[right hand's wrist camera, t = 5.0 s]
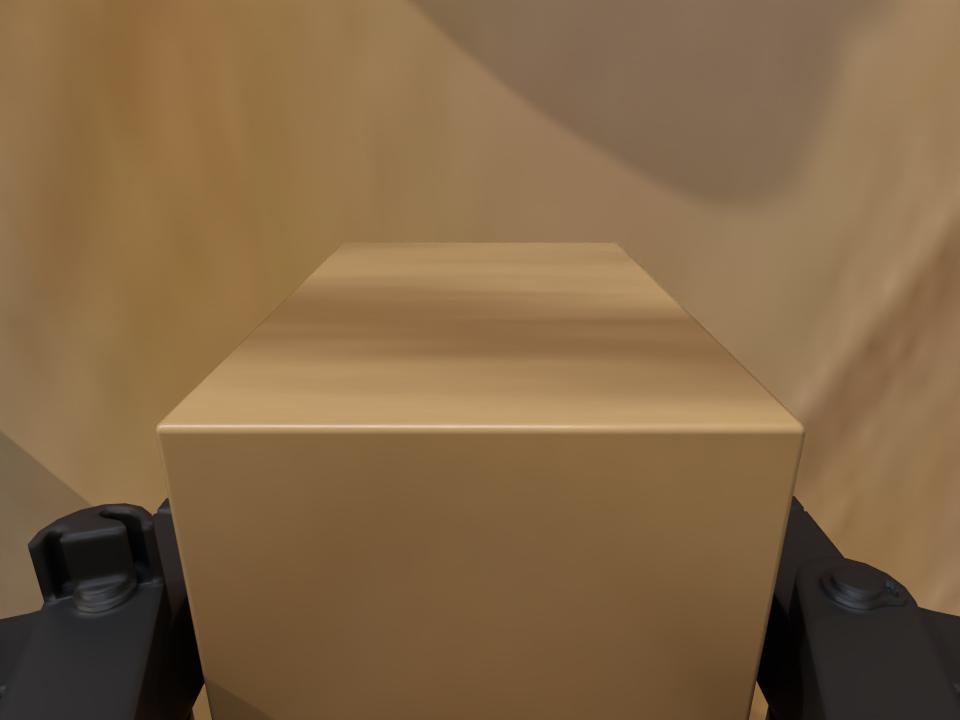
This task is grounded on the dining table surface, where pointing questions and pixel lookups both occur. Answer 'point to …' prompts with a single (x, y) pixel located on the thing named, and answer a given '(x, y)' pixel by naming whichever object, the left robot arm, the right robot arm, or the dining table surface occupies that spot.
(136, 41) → the dining table surface
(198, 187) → the dining table surface
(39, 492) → the dining table surface
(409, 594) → the block
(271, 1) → the dining table surface
